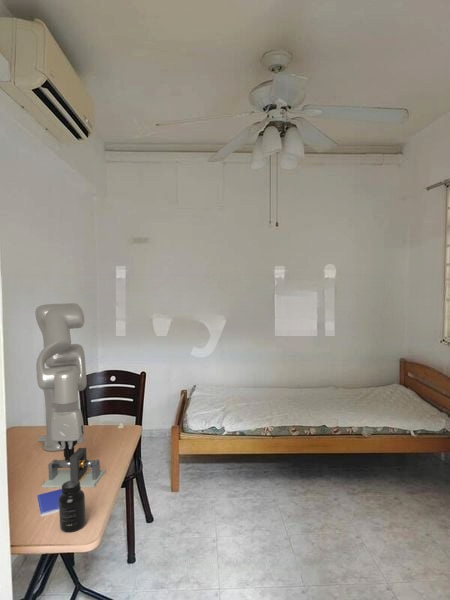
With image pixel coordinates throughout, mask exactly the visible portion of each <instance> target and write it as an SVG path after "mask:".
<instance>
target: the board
mask: <svg viewBox="0 0 450 600" xmlns="http://www.w3.org/2000/svg"><path fill="white" fill-rule="evenodd" d="M105 473H106V470H105V469H100V475H99V477H98V478H97V479H96V480H92V469H87V471H86V472H85V473H84V474H83V475H82V477H81V478H80V479H79V480H78V481H79V482H80V486H81V488H95V487H96V485H97V484H98V483H99V482H100V480H101V479H102V477H103V476H104V475H105ZM68 481H71V480H70V469H68V470H67V469H58V475H57V476H56V477H55V478H54V479H53V480H49V478H48V479H47V480H46V481H45V482H44V483H42V486H41V487H42V488H45V489H46V488H53V489H54V488H62V485H63V484H64V483H65V482H68Z"/></svg>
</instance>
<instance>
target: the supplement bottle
mask: <svg viewBox="0 0 450 600" xmlns="http://www.w3.org/2000/svg"><path fill="white" fill-rule="evenodd" d="M81 488H82V487H81V486H80V482H79V481H78V480H71V481H68V482H65V483H64V484H63V485H62V487H61V489H62V494H61V495H60V497H59V512H58V514H59V527H60V530H61V532H64V533H76V532H77V531H79V530H81V529H83V528H84V527H85V525H86V522H87V517H86V515H87V514H86V498H85V497H86V496H85V492H84V491H83V490H82V489H81Z"/></svg>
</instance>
